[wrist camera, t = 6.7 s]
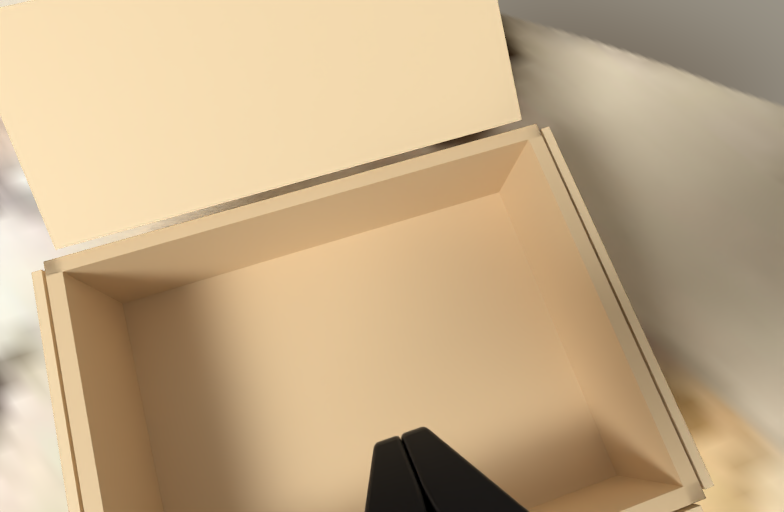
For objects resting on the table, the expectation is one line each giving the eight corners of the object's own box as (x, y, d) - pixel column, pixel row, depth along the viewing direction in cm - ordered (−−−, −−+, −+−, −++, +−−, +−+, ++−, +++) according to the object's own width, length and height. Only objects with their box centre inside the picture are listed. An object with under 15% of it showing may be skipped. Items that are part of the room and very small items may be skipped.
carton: (645, 491, 21) (726, 508, 17) (167, 677, 19) (100, 760, 14) (512, 180, 25) (547, 120, 20) (97, 301, 22) (25, 266, 18)
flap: (521, 120, 20) (477, -98, 18) (55, 249, 18) (-41, 16, 16) (518, 120, 20) (474, -94, 18) (59, 248, 18) (-35, 18, 16)
